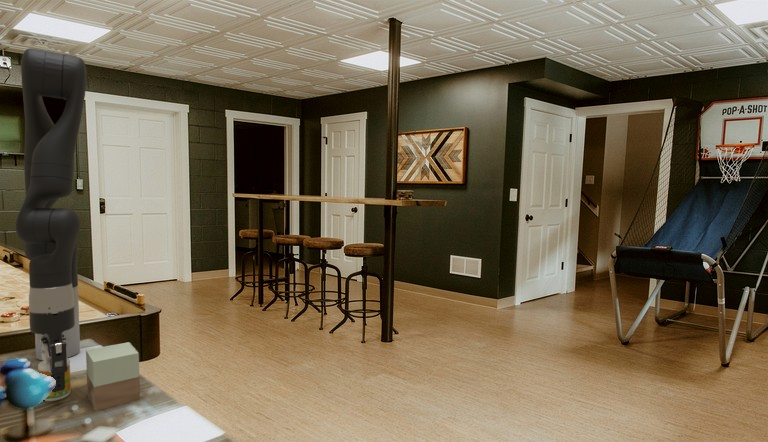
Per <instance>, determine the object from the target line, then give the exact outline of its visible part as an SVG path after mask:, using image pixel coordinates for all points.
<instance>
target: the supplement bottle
mask: <svg viewBox="0 0 768 442" xmlns="http://www.w3.org/2000/svg"><path fill="white" fill-rule="evenodd" d="M50 358H51V357H50ZM70 362H71V361H70V359H69V357H68V358H67V367H68V370H67V372H65V389H64V390H62V391H58V392H51V393H50V395H49V396H48V397H47V398H46V399H45V401H44V402H54V401H58V400H59V401H60V400H62V399H64V398H66V397H68V396H69V395H70V394H71V391H72V389H71V365H70ZM60 366H61V362H56V363H55V367H60ZM49 371H50V366H49V364H47V363H46V359H45V351H42V360H40V362H39V363H38V365H37V373H38V372H39V373H42V374H45V375H47V376H51V374H50V372H49Z"/></svg>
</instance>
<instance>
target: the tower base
mask: <svg viewBox="0 0 768 442" xmlns="http://www.w3.org/2000/svg"><path fill="white" fill-rule="evenodd" d="M140 380H141V379H140V375H139V377H136V378H132V379H127V380H123V381H118V382H114V383H110V384H105V385H101V386H97V387H94V386H93V384H92V382H91V380H90V379H89V377H88V375H87V374H86V389H87V390H86V393H87V394H86V395H87V397H88V400H89V402H90V403H91V405H92V408H93V410H94V411H95V412H96V411H100V410H103V409H107V408H111V407H116V406H119V405H123V404H128V403H131V402H135V401H139V400H140V399H141V392H140V391H141V388H140V387H141V386H140Z"/></svg>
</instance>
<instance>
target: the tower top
mask: <svg viewBox="0 0 768 442" xmlns="http://www.w3.org/2000/svg"><path fill="white" fill-rule="evenodd" d="M85 361H86V376H87V375H88V377H89V379H90V380H91V382H92V384H93V386H94V387H97V386H101V385H105V384H110V383H114V382H118V381H123V380H127V379H132V378H136V377H139V376H140V353H139V352H138V350H137V349H136V348H135V347H134V346H133V345H132V343H131V342H129V341H127V342H124V343H123V342H122V343H117V344H110V345H106V346H105V345H104V346H101V347H94V348H90V349H89V348H88V349H86V350H85Z"/></svg>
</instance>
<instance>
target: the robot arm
mask: <svg viewBox="0 0 768 442" xmlns="http://www.w3.org/2000/svg"><path fill="white" fill-rule="evenodd" d="M20 68H21V69H20V73H21V74H20V75H21V89H22V97H23V98H22V100H23V110H24V111H23V112H24V150H23V151H24V153H23V154H24V158H23V161H24V165H23V169H24V170H23V171H24V185H25V186H24V188H25V190H24V191H25V198H24V201H23V203H22V206H21V208H20V209H19V212H18V214H17V218H16V219H15V220H16V221H15V225H14V227H15V232H16V235H17V237H18V238H19V240H21V241H22V242H23V250H24V255H25V256H26V258H27V260H29V263H28V273H29V274H28V275H29V293H28V309H29V310H28V311H29V312H28V313H29V315H28V316H29V330H30V332H31V333H32V334H34V337H35V341H34V342H35V358H36V359H37V360H39V361H43V360H42V351H45V359H46V363H47V364H49V366H50V371H49V372H50V374H51V377H53V378H54V379H55V380H56V386H55V388H54V389H53V390H52V392H58V391H62V390H64V389H65V372H67V370H68V367H67V358H68V359H69V358H70V357H73V356H75V355H77V354H79V353H80V352H81V345H80V344H81V340H80V338H81V337H80V310H79V309H80V307H79V306H80V305H79V304H80V303H79V302H80V301H79V283H78V282H79V280H78V278H79V277H78V248H79V242H78V241H79V234H80V231H81V225H82V224H81V219H80V216H79V214H78V213H77V212H76V211H74V210H73V209H71V208H65V207H63V208H59V207H58V208H56V207H53V206H54V204H55V203H56V202H57V201H58V200H59V199H60V198H61V199H62V198H65V197H68V196H70V195H71V193H72V191H73V190H72V189H73V180H74V175H75V151H76V145H77V141H78V135H79V132H80V126H81V121H82V116H83V109H84V103H85V97H86V90H87V78H88V77H87V75H88V74H87V67H86V63H85V61H84V60H83V59H82V57H79V56H76V55H71V54H64V53H60V52H56V51H50V50H45V49H40V48H39V49H38V48H34V47H33V48H32V47H31V48H26V49H25V50H24V52H23V54H22V57H21V66H20ZM43 97H45V98H46V97H48V98H54V99H58V100H59V99H60V100H65V101H66V102H65V107H64V109H63V111H62V114H61V116H60V117H59V119H58V120H57V121H56V122H55V123H54V122H53V120H52V119H51V117H50V114H49V113H48V111H47V107H46V106H45V102H44V99H43ZM52 207H53V208H52ZM50 357H51V358H50ZM56 362H61V366H60V367H55V363H56Z"/></svg>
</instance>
